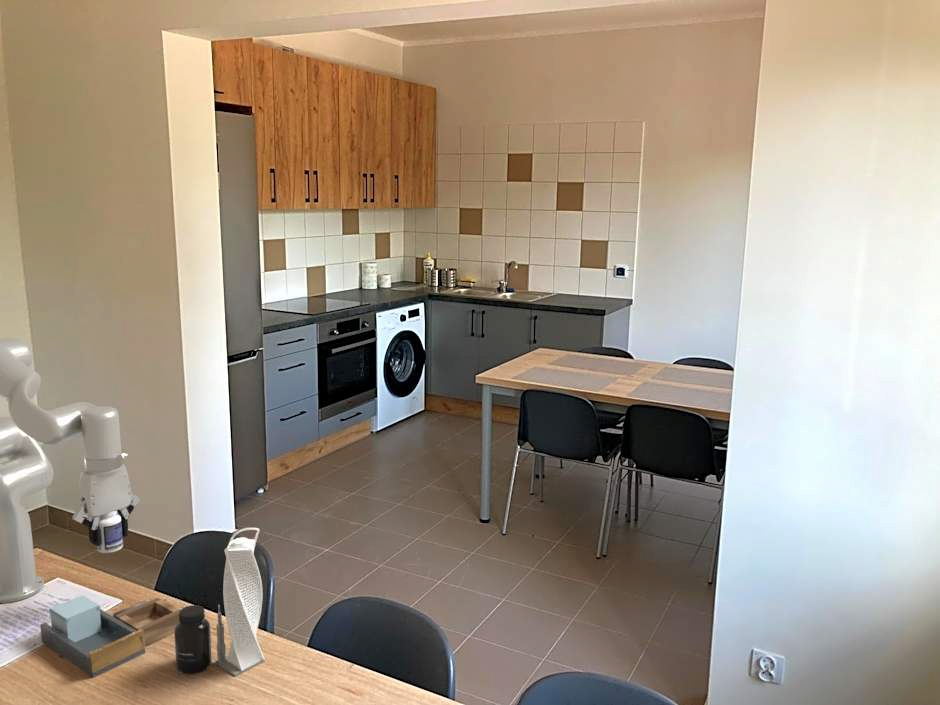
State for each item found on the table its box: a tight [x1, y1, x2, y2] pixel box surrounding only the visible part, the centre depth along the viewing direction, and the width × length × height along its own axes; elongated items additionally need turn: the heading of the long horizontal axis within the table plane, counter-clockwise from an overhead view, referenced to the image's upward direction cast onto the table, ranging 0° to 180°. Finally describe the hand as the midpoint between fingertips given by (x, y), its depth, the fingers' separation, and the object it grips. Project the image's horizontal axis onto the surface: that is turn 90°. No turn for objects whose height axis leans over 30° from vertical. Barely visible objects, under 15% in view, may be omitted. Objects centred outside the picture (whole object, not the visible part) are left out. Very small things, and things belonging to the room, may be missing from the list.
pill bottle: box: [96, 511, 124, 554], centre depth 173 cm, size 5×5×10 cm
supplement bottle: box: [173, 604, 213, 675], centre depth 154 cm, size 7×7×12 cm
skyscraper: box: [215, 527, 266, 677], centre depth 154 cm, size 8×8×28 cm
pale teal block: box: [48, 595, 101, 642], centre depth 164 cm, size 7×7×6 cm
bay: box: [39, 608, 146, 678], centre depth 161 cm, size 21×11×5 cm, turn 53°
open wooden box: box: [112, 597, 181, 648], centre depth 169 cm, size 14×10×4 cm
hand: (109, 538), depth 173 cm, fingers closed on pill bottle, 5 cm apart
